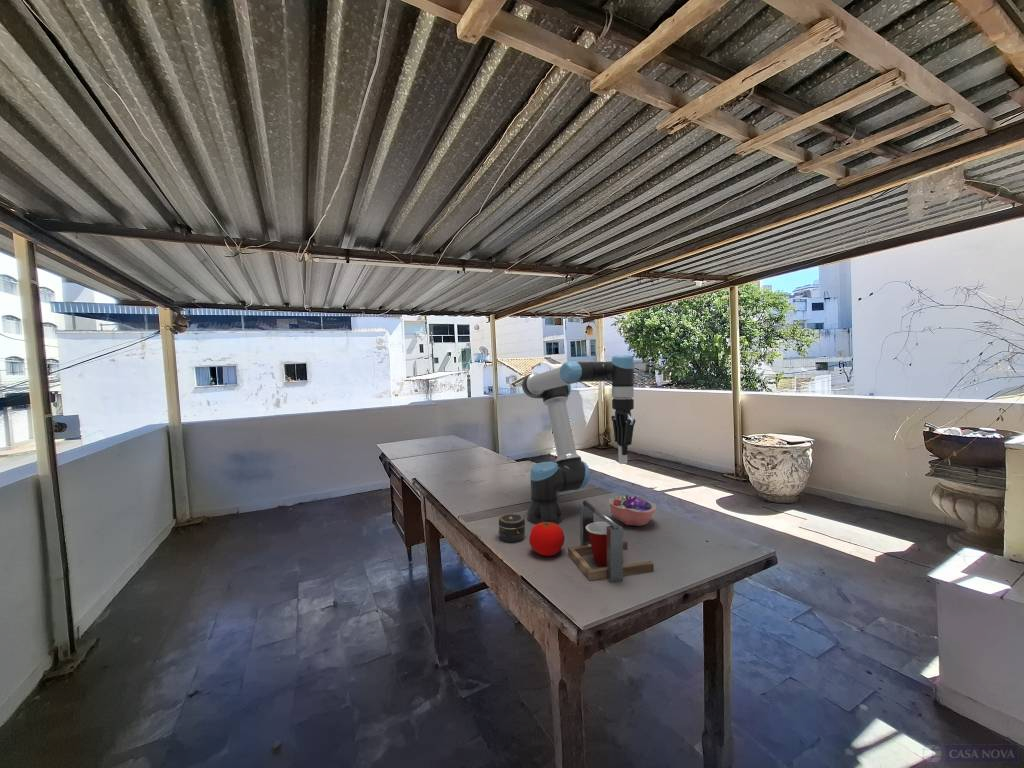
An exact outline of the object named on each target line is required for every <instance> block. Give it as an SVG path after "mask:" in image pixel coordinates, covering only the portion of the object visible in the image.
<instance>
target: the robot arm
mask: <svg viewBox="0 0 1024 768" xmlns="http://www.w3.org/2000/svg"><path fill="white" fill-rule="evenodd" d="M634 363H635V362H634V357H633V356H632V355H630V354H627V355H626V354H623V355H613V356H612V357H611V361H575V360H573V361H572V360H571V361H565V362H563V363H562V365H561V366H559V367H555V368H553V369H550V370H548V371H547V370H546V371H544V372H541V373H538V372H536V373H535V372H533V373H530V374H528V375H526V376H525V377H524V378H523V380H522V382H521V388H522V391H523V393H524V394H525V395H526V396H527V397H529V398H531V399H542V403H543V404H544V405H545V406H547V410H548V411H547V412H548V416H549V420H550V425H551V431H552V434H553V435H552V436H553V442H554V446H555V450H556V455H557V456H556V457H557V458H555V461H541V462H538V463H535V464H534V465H533V466H532V467H531V468H530V475H529V476H530V502H529V506H528V509H527V512H526V519H527V521H528V522H529V523H532V524H534V525H536V524H538V523H542V522H551V523H552V522H553V523H555V524H557V525H558V524H559V523H561V522H562V521H563V519H564V518H563V515H564V514H563V512H562V508H561V505H560V503H559V493H564V492H570V491H577V490H580V489H584V488H585V487H587V485H588V483H589V481H590V477H591V476H590V475H591V474H590V473H591V472H590V468H589V466H588V464H587V462H585V461H583V460H582V457H581V456H580V455H579V454H577V450H576V445H575V440H574V436H573V432H572V431H573V430H572V426H571V422H570V417H569V413H568V408H567V401H568V400H569V396H570V394H571V392H572V391H571V389H572V386H571V384H577V383H584V382H585V383H589V382H591V383H592V382H595V383H596V382H597V383H598V382H611V397H612V398H613V399H612V400H611V408H612V409H613V410H615V411H614V415H611V416H610V418H611V421H612V428H613V436H614V438H613V439H614V442H615V443H617V445H618V447H617V448H618V464H620V465H623V464H625V465H627V464H628V448H629V447H628V446H630V445H632V442H633V436H634V435H633V434H634V428H635V427H634V426H635V425H636V424H635V423H636V419H635V418H632V413H631V411H632V410H634V408H635V401H634V396H635V395H634V394H635V393H634V391H635V389H634V386H635V385H634V384H635V383H634V382H635V381H634V378H635V377H634V376H635V375H634V374H635V365H634Z"/></svg>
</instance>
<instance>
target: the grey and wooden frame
mask: <svg viewBox="0 0 1024 768" xmlns="http://www.w3.org/2000/svg"><path fill="white" fill-rule="evenodd" d="M582 502H583V503H581V504H579V537H580V538H579V541H580V542H579V546H570V547H568V548H567V555H568V557H569V558H570V559H571V560H572V561H573V563H574V564H575V565H576V567H578V569H579V570H580V571H581V572H582V573H583V575H584V576H585V577H586V578H587V580H588V581H589V582H590V581H598V580H599V581H600V580H605V579H606V580H608V581H609V582H610V584H612V583H619V582H623V581H624V576H631V575H637V574H639V575H640V574H645V573H653V572H654V571H655V567H654V566H655V563H654V562H653V561H652V560H649V561H641V562H635V563H629V564H628V563H627V564H624V551H626V550H628V545H629V544H628V541H627V540H624V534H623V533H624V531H623V530H624V528H623V526H622V525H620V524H618V523H617V522H615V521H614V520H613V519H611V518H610V517H609V516H608V515H606V514H605V513H604V512H602V511H601V510H600V509H598V508H597V507H596V506H595V505H593V504H592V503H591V502H589V501H587V500H583V501H582ZM594 514H595V515H597V516H598V518H600V519H601V520H603V522H607V523H608V524H609V525H610V526H607V566H604V567H599V568H598V567H597V568H592V567H591V566H590V565H589V564H588V563H587V561H586V560H585V559H584V558H583V557H582V556H586V555H593V552H592V547H591V541H590V537H589V534H588V531H587V530H586V526H587V525H588V524H591V523H594Z"/></svg>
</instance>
